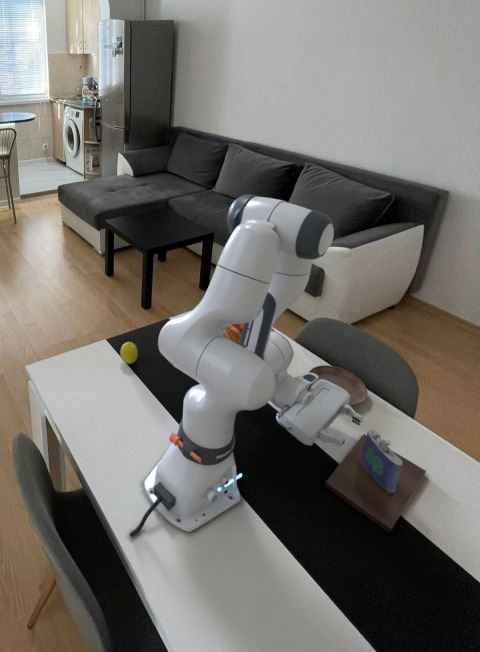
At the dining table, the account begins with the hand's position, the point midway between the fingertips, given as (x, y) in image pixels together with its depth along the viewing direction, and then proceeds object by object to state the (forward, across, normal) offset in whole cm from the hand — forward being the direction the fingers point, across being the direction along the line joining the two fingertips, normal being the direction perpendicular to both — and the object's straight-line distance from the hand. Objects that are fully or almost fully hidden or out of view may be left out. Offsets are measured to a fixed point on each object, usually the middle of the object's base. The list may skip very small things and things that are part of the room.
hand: (352, 432), depth 99 cm
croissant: (-42, +22, +10) cm, 48 cm away
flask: (+6, 0, +8) cm, 10 cm away
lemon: (-59, -16, +10) cm, 62 cm away
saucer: (-12, +21, +10) cm, 26 cm away
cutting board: (+6, 0, +10) cm, 11 cm away
